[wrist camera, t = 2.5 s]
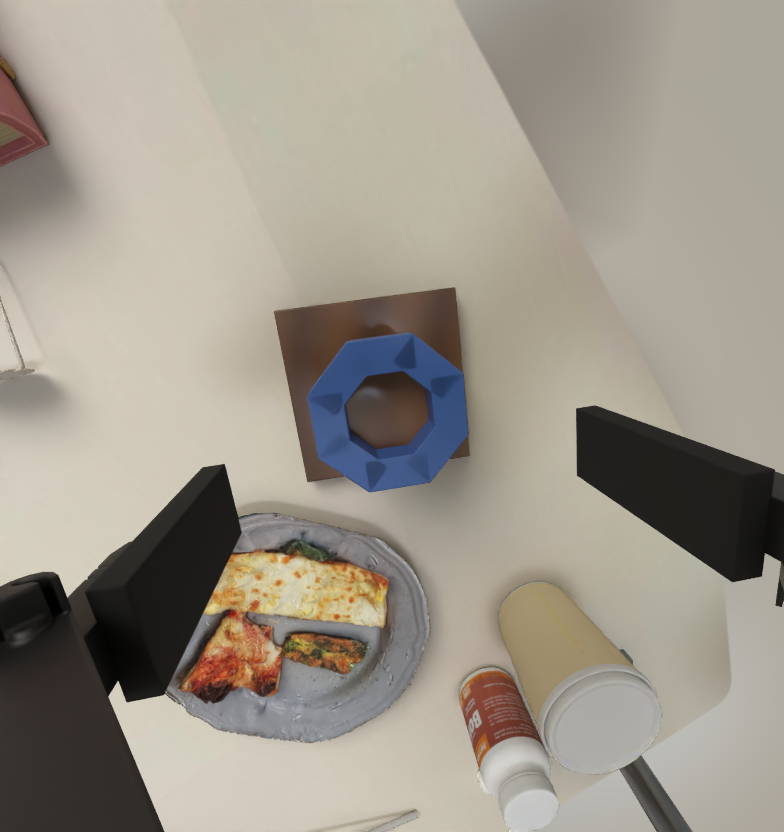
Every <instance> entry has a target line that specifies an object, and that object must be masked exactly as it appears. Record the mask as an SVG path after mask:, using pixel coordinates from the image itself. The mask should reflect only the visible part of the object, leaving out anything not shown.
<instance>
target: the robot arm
mask: <svg viewBox="0 0 784 832" xmlns="http://www.w3.org/2000/svg"><path fill="white" fill-rule="evenodd" d="M576 431H577V476H579V477H580V478H581V479H583V480H584V481H586V482H587V483H589V484H590V485H592V486H593V487H595V488H596V489H597V490H599V491H600V492H602V493H603V494H605V495H606V496H608V497H609V498H611V499H612V500H613V501H615V502H616V503H618V504H619V505H621V506H622V507H624V508H625V509H627V510H628V511H629V512H631V513H632V514H634V515H635V516H637V517H638V518H640V519H641V520H643V521H644V522H645V523H647V524H648V525H650V526H651V527H653V528H654V529H656V530H657V531H659V532H660V533H661V534H663V535H664V536H666V537H667V538H669V539H670V540H672V541H673V542H675V543H676V544H677V545H679V546H680V547H682V548H683V549H685V550H686V551H688V552H689V553H691V554H692V555H693V556H695V557H696V558H698V559H699V560H701V561H702V562H704V563H705V564H707V565H708V566H709V567H711V568H712V569H714V570H715V571H717V572H718V573H720V574H721V575H723V576H724V577H725V578H727V579H728V580H730V581H732V582H736V581H741V580H746V579H751V578H756V577H761V576H762V571H763V563H764V555H765V553H766V554H768V555H770V556H772V557H773V558H775V559H777V560H779V561H781V568H780V576H779V583H778V590H777V598H776V606H780V607H782V604H783V601H784V475H783V474H780V473H778V472H775V470H774V469H772V468H769V467H766V466H763V465H760V464H757V463H755V462H752V461H749V460H746V459H744V458H741V457H738V456H735V455H732V454H730V453H727V452H724V451H721V450H718V449H715V448H713V447H710V446H707V445H704V444H702V443H699V442H696V441H693V440H690V439H688V438H685V437H682V436H679V435H676V434H674V433H671V432H668V431H665V430H662V429H660V428H657V427H654V426H651V425H648V424H646V423H643V422H640V421H637V420H634V419H632V418H629V417H626V416H623V415H620V414H618V413H615V412H612V411H609V410H606V409H604V408H601V407H598V406H589V407H583V408H577V409H576ZM241 534H242V531H241V527H240V523H239V519H238V515H237V511H236V507H235V503H234V499H233V495H232V491H231V487H230V483H229V479H228V475H227V471H226V467H225V464H221V465H215V466H209V467H203V468H202V469H201V470H200V471H199V472H198V473H197V474H196V475H195V476H194V477H193V478H192V479H191V480H190V481H189V482H188V483H187V484H186V486H185V487H184V488H183V489H182V490H181V491H180V492H179V493H178V494H177V495H176V496H175V497H174V498H173V499H172V500H171V501H170V502H169V503H168V505H167V506H166V507H165V508H164V509H163V510H162V511H161V512H160V513H159V514H158V515H157V516H156V517H155V518H154V519H153V520H152V521H151V522H150V523H149V525H148V526H147V527H146V528H145V529H144V530H143V531H142V532H141V533H140V534H139V535H138V536H137V537H136V538H135V539H134V540H133V541H132V542H128V543H127V544H125V545H124V546H122V547H121V548H119V549H118V550H116V551H115V552H113V553H112V554H110V555H109V556H108V557H107V558H106V559H105V560H104V561H103V562H102V563H101V564H100V565H99V566H98V569H95V570H94V571H93V572H92V573H91V574H90V575H89V576H88V580H85V581H84V582H83V583H82V584H81V585H80V586H79V587H78V588H77V589H76V590H75V591H74V592H73V593H72V594H71V595H70V596H69V597H68V598H67V596H66V593H65V591H64V588H63V586H62V583H61V581H60V578H59V576H58V575H57V574H56V573H54V572H41V573H36V574H32V575H28V576H25V577H22V578H19V579H16V580H14V581H11V582H9V583H7V584H5V585H3V586H1V587H0V832H164V830H163V827H162V825H161V822H160V820H159V818H158V815H157V813H156V810H155V808H154V806H153V803H152V801H151V798H150V796H149V794H148V791H147V789H146V786H145V784H144V782H143V779H142V777H141V774H140V772H139V770H138V767H137V765H136V762H135V760H134V758H133V755H132V753H131V750H130V748H129V746H128V743H127V741H126V738H125V736H124V734H123V731H122V729H121V726H120V724H119V722H118V719H117V717H116V714H115V712H114V710H113V707H112V705H111V702H110V700H109V698H108V696H109V694H110V693H111V691H112V689H113V688H114V686H115V685H116V683H117V681H119V683H120V686H121V689H122V691H123V694H124V697H125V699H126V702H131V701H136V700H142V699H147V698H152V697H157V696H162V695H164V694H165V692H166V690H167V688H168V686H169V684H170V682H171V679H172V677H173V675H174V673H175V671H176V669H177V667H178V665H179V663H180V661H181V659H182V657H183V654H184V652H185V650H186V648H187V646H188V644H189V642H190V640H191V638H192V636H193V634H194V632H195V629H196V627H197V625H198V623H199V621H200V619H201V617H202V615H203V613H204V611H205V609H206V607H207V604H208V602H209V600H210V598H211V596H212V594H213V592H214V590H215V588H216V586H217V584H218V582H219V579H220V577H221V575H222V573H223V571H224V569H225V567H226V565H227V563H228V561H229V559H230V557H231V555H232V552H233V550H234V548H235V546H236V544H237V542H238V540H239V538H240V536H241Z"/></svg>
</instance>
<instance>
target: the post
mask: <svg viewBox="0 0 784 832" xmlns="http://www.w3.org/2000/svg"><path fill="white" fill-rule="evenodd" d="M619 651H620V652H621V653H622V654H623V655H624V656H625V657H626V658H627V660H628V661H629V662H630V663H631V664H632V665H633V660H632V659H631V658H630V657H629V655H628V654H627V653H626V652H625V651H624V650H619ZM620 771H621V773H622V774H623V776H624V778H625V779H626V781H627V783H628V784H629V786H630V788H631V789H632V791H633V793H634V794H635V796H636V798H637V799H638V801H639V803H640V804H641V806H642V808H643V809H644V811H645V813H646V814H647V816H648V818H649V819H650V821H651V823H652V824H653V826H654V828H655V829H656V831H657V832H692V831H691V829H690V827H689V826H688V824H687V823H686V821H685V820H684V818H683V817H682V815H681V814H680V812H679V811H678V809H677V808H676V806H675V805H674V804H673V802H672V800H671V799H670V797H669V796H668V794H667V793H666V791H665V790H664V789H663V787H662V786H661V784H660V783H659V781H658V780H657V778H656V777H655V775H654V774H653V772H652V771H651V769H650V768H649V766H648V765H647V763H646V762H645V760H644V759H643V757H642V756H640V757H638V758H637V759H636V760H634V761H633V762H631V763H630V764H628V765H626V766H624V767H622V768H620Z"/></svg>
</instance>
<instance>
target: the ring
mask: <svg viewBox="0 0 784 832" xmlns="http://www.w3.org/2000/svg"><path fill="white" fill-rule="evenodd" d="M400 371H403V372H405V373H406V374H407V375H409V376H410V377H411V378H413V379H414V380H415V381H416V382H418V383H419V384H420V385H422V386H423V387H424V388H425V393H426V402H427V411H428V420H427V421H426V423H425V424H424V425H423V427H422V428H421V429H420V430H419V432H418V433H417V434H416V435H415V437H414V438H413V439H412V441H411V442H410V443H409V444H407V445H401V446H394V447H388V448H382V449H375V448H374V447H372V446H371V445H370V444H368V443H367V442H365V441H364V440H362V439H361V438H359V437H358V436H357V435H355V434H354V433H352V432H351V431H350V427H349V421H348V415H347V408H346V403H347V402H348V400H349V399H350V398H351V396H352V395H353V394H354V392H355V391H356V390H357V388H358V387H359V386H360V384H361V383H362V382H363V380H364V379H365V378H366V376H372V375H379V374H386V373H393V372H400ZM307 399H308V405H309V410H310V415H311V421H312V426H313V431H314V437H315V442H316V448H317V453H318V458H319V459H320V460H322V461H323V462H325V463H326V464H328V465H329V466H331V467H332V468H334V469H335V470H337V471H338V472H340V473H341V474H343V475H344V476H346V477H347V478H349V479H350V480H352V481H353V482H355V483H356V484H358V485H359V486H361V487H362V488H364V489H365V490H367V491H368V492H375V491H381V490H387V489H393V488H399V487H406V486H412V485H418V484H424V483H430V482H431V481H432V479H433V478H434V477H435V476H436V474H437V473H438V472H439V471H440V469H441V468H442V467H443V466H444V464H445V463H446V462H447V461H448V460H449V458H450V457H451V456H452V455H453V453H454V452H455V451H456V450H457V448H458V447H459V446H460V445H461V443H462V442H463V441H464V440H465V439H466V437H467V436H468V435H469V434H468V422H467V410H466V399H465V387H464V375H463V373H462V372H461V371H460V370H458V369H457V368H456V367H455V366H453V365H452V364H451V363H450V362H448V361H447V360H446V359H445V358H443V357H442V356H441V355H440V354H438V353H437V352H436V351H435V350H433V349H432V348H431V347H430V346H428V345H427V344H426V343H425V342H423V341H422V340H421V339H420V338H418V337H417V336H416V335H415V334H413V333H409V332H406V333H399V334H392V335H384V336H377V337H370V338H363V339H355V340H348V341H346V342H345V343H344V345H343V346H342V347H341V349H340V350H339V352H338V353H337V354H336V356H335V357H334V358H333V360H332V361H331V363H330V364H329V365H328V367H327V368H326V369H325V371H324V372H323V373H322V375H321V376H320V378H319V379H318V380H317V382H316V383H315V384H314V386H313V387H312V388H311V390H310V392H309V393H308V395H307Z"/></svg>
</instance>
